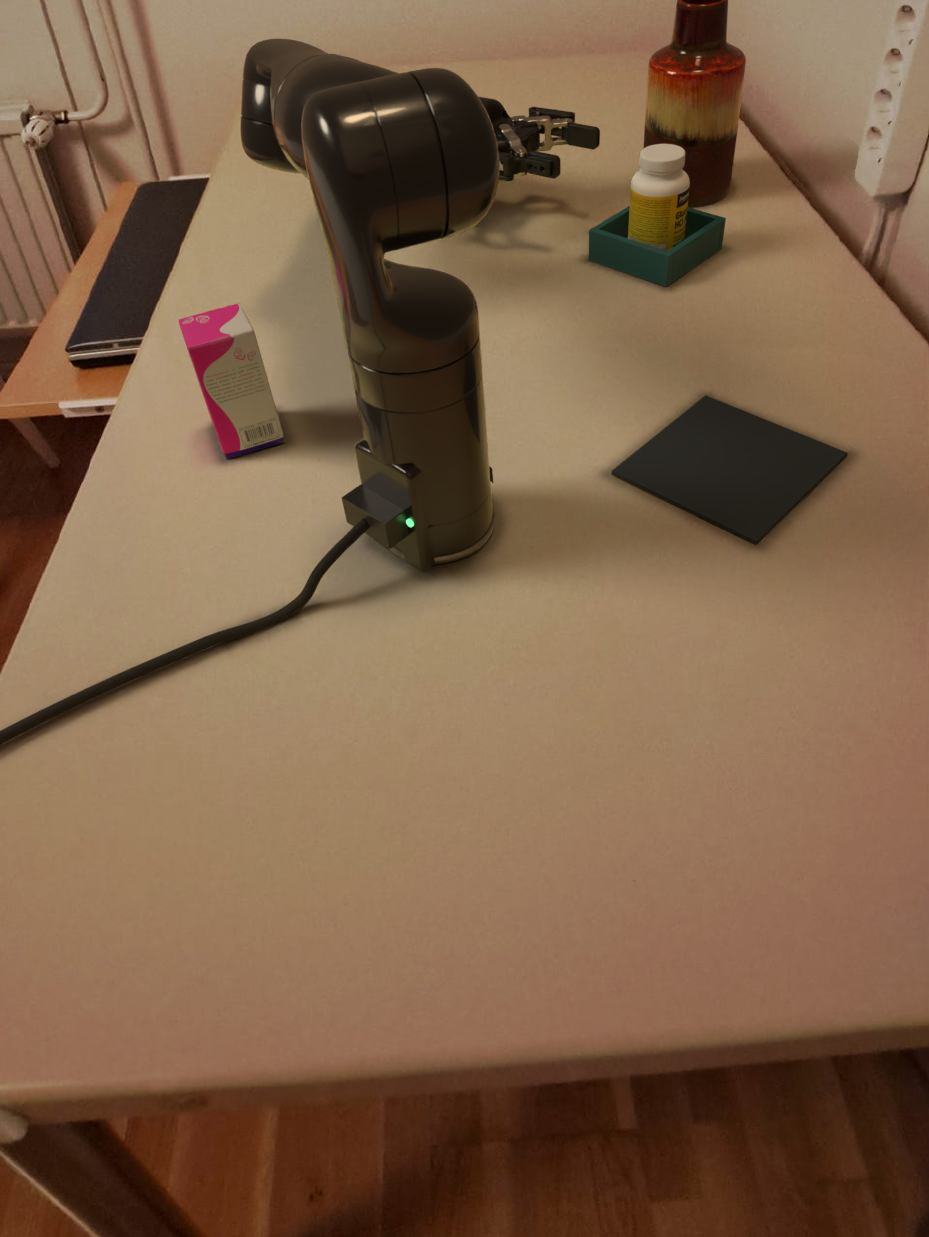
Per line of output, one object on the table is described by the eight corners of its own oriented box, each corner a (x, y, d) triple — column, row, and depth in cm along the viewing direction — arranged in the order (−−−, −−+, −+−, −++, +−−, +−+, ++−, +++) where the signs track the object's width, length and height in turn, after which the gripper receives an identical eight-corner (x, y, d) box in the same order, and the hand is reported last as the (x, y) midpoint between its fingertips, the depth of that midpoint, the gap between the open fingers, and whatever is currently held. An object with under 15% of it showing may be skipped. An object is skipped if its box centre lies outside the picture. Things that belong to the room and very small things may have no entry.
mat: (756, 544, 73) (756, 541, 72) (611, 474, 80) (611, 470, 79) (846, 456, 79) (848, 452, 79) (705, 398, 86) (705, 394, 86)
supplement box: (271, 410, 90) (241, 299, 82) (286, 443, 86) (256, 331, 78) (212, 426, 89) (176, 316, 81) (224, 461, 85) (187, 349, 77)
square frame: (666, 287, 100) (669, 255, 98) (588, 260, 106) (588, 229, 103) (722, 248, 105) (726, 217, 102) (644, 224, 110) (646, 194, 108)
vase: (739, 175, 117) (764, -16, 103) (717, 212, 111) (740, 14, 96) (655, 166, 121) (668, -19, 106) (629, 202, 115) (639, 10, 100)
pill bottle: (681, 268, 103) (691, 164, 95) (624, 267, 104) (629, 164, 96) (684, 242, 107) (694, 140, 99) (629, 241, 108) (634, 140, 100)
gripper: (494, 141, 117) (609, 163, 110) (426, 186, 109) (545, 213, 102) (491, 75, 111) (612, 94, 104) (419, 117, 104) (544, 140, 97)
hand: (578, 153), depth 103 cm, fingers open, 8 cm apart
